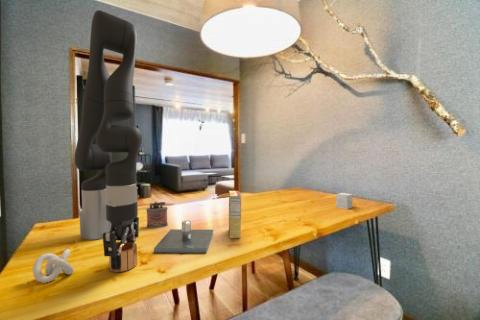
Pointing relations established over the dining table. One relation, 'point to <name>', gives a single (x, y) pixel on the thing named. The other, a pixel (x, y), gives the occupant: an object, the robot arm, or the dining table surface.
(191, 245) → the base
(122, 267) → the wooden tube
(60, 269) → the knot
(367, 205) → the dining table surface
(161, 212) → the lighter
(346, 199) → the skincare box
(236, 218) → the candy box
